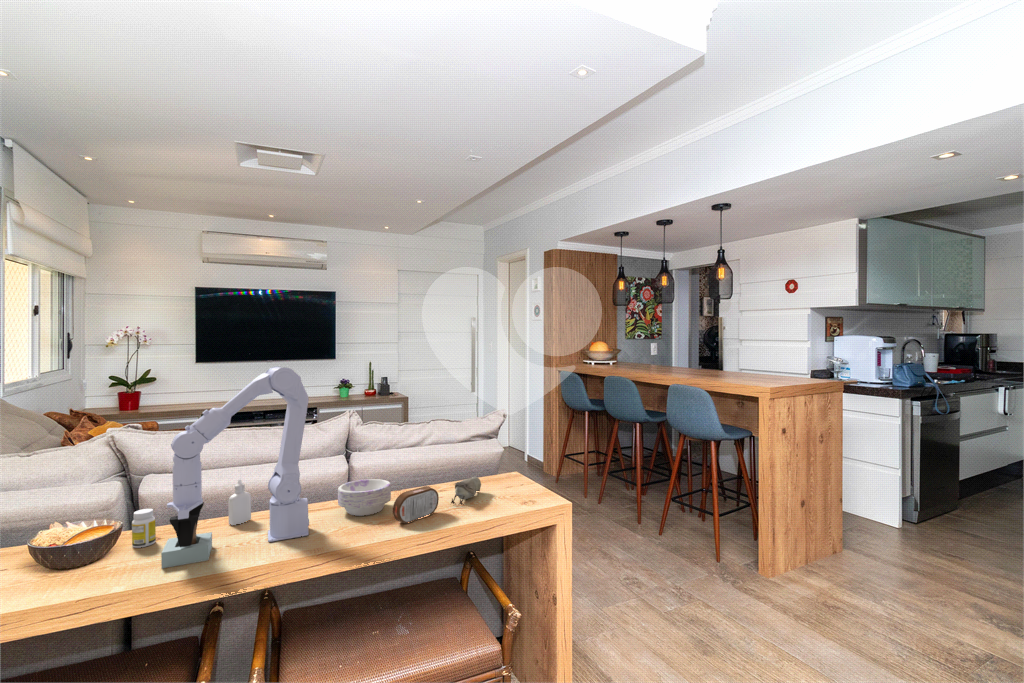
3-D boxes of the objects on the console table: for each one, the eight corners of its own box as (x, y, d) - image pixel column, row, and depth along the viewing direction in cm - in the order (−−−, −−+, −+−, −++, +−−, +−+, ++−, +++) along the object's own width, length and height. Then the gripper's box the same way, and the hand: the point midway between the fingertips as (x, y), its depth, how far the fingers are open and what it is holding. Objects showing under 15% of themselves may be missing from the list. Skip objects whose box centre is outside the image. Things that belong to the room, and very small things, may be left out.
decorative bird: (485, 493, 165) (485, 471, 165) (463, 508, 150) (463, 484, 150) (471, 491, 167) (470, 469, 167) (447, 506, 152) (447, 482, 152)
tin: (433, 510, 148) (433, 482, 148) (440, 513, 146) (440, 484, 146) (391, 525, 136) (391, 494, 136) (398, 528, 134) (398, 497, 134)
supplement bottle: (152, 539, 128) (152, 506, 128) (158, 543, 125) (157, 510, 125) (129, 545, 124) (129, 511, 124) (135, 550, 121) (134, 515, 121)
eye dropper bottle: (228, 522, 140) (227, 479, 140) (250, 518, 143) (250, 476, 143) (229, 527, 136) (228, 483, 136) (252, 522, 139) (251, 480, 139)
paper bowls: (364, 500, 158) (364, 475, 158) (401, 507, 151) (401, 481, 151) (326, 515, 145) (326, 488, 145) (365, 523, 138) (364, 495, 138)
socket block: (212, 546, 123) (211, 532, 123) (208, 560, 115) (208, 545, 115) (168, 553, 119) (168, 538, 119) (161, 568, 111) (161, 552, 111)
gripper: (172, 477, 122) (172, 532, 122) (161, 493, 109) (161, 555, 109) (205, 473, 125) (206, 527, 125) (198, 488, 112) (199, 548, 112)
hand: (187, 540), depth 117 cm, fingers open, 7 cm apart
